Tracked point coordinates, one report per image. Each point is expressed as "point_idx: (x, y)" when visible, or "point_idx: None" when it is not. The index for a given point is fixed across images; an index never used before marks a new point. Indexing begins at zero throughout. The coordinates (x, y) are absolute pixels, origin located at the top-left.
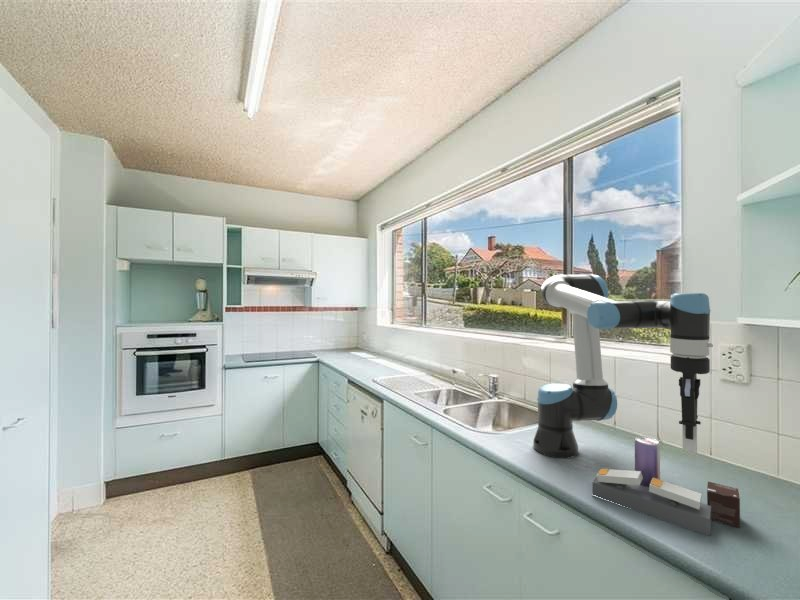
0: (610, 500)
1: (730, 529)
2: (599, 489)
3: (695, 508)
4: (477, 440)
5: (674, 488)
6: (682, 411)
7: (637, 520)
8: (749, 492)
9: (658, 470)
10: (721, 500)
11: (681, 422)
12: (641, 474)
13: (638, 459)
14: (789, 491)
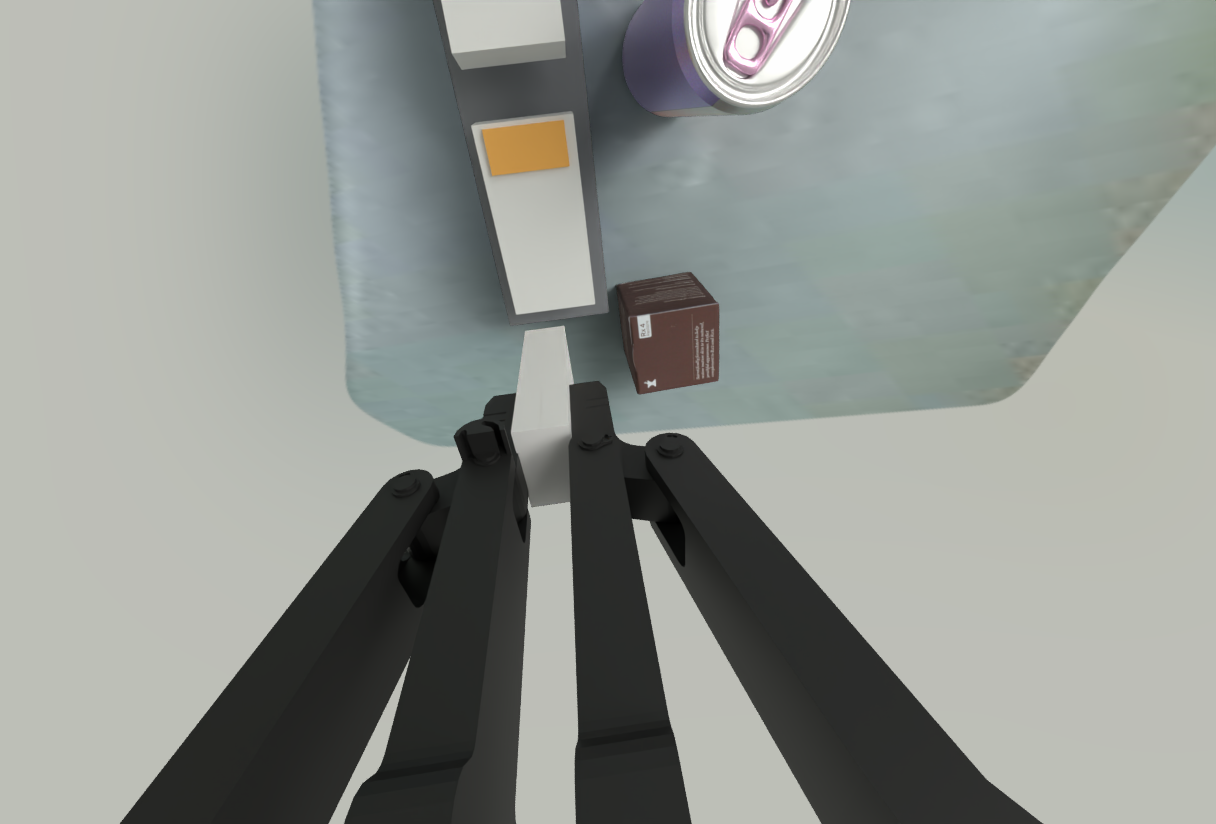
0: None
1: (601, 336)
2: None
3: None
4: None
5: (545, 223)
6: (297, 608)
7: (395, 99)
8: (884, 337)
9: (682, 113)
10: (629, 344)
11: (459, 452)
12: (557, 48)
13: None
14: (942, 402)
